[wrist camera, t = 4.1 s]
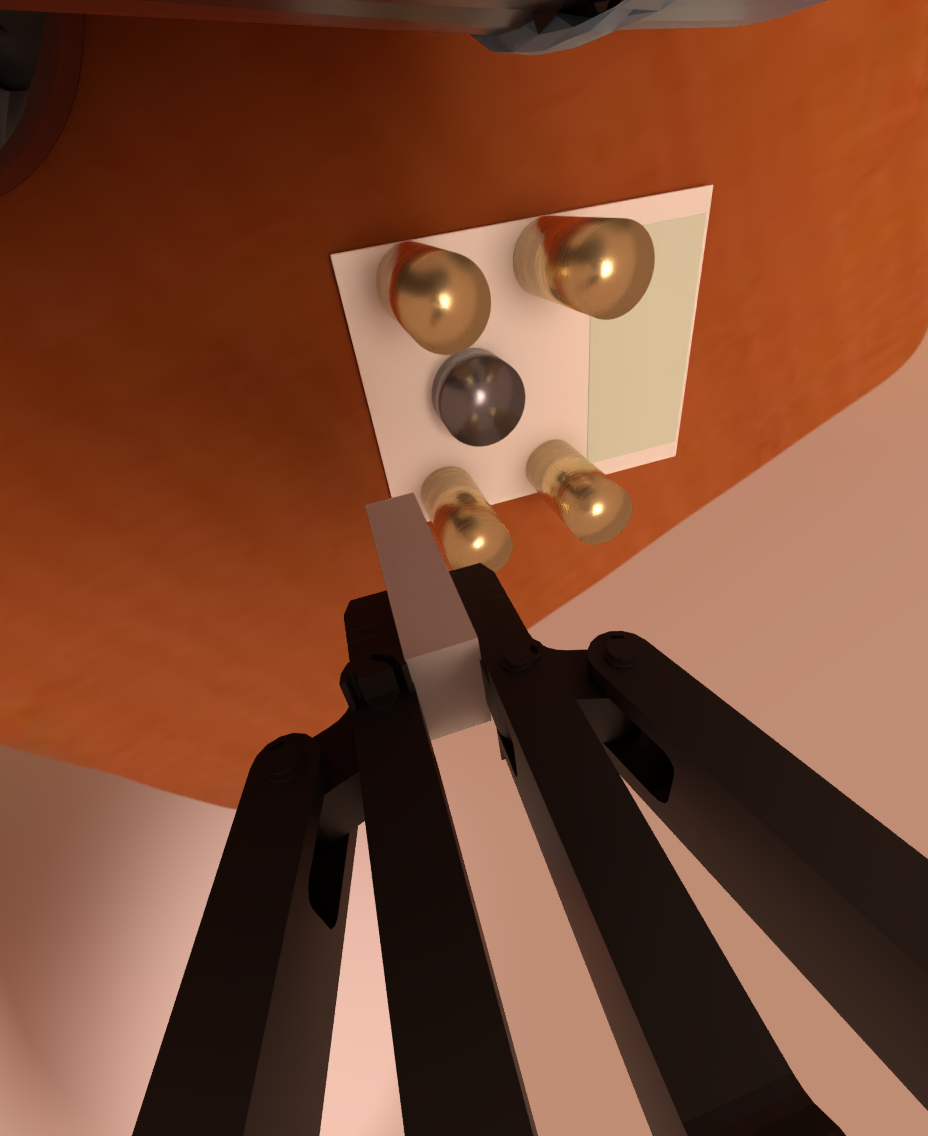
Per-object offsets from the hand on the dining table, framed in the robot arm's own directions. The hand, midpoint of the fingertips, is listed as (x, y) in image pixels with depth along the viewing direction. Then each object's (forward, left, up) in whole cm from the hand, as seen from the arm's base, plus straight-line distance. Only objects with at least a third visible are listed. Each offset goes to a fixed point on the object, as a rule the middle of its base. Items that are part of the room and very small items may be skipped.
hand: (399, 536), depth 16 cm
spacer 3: (-5, +10, -10) cm, 15 cm away
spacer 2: (+5, +4, -10) cm, 12 cm away
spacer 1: (-5, +4, -10) cm, 12 cm away
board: (0, +9, -11) cm, 14 cm away
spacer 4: (+5, +10, -10) cm, 15 cm away
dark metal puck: (0, +6, -10) cm, 12 cm away
